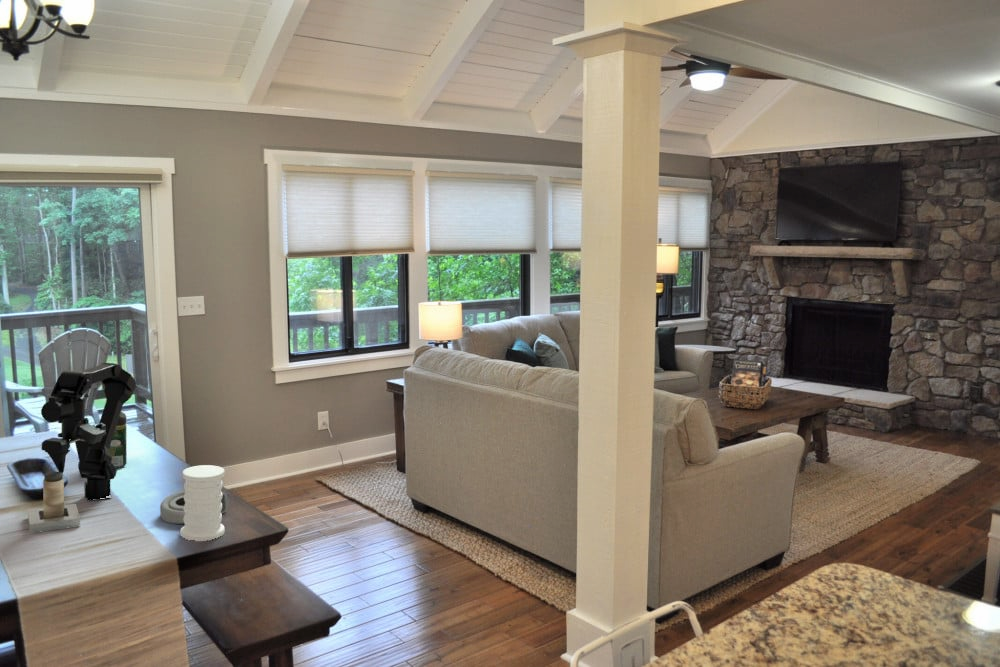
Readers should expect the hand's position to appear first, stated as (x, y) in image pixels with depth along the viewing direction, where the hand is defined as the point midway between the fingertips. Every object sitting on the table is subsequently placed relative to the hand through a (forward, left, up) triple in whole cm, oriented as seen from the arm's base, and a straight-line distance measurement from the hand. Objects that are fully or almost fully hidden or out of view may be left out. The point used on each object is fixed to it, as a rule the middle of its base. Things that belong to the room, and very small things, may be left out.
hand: (72, 468), depth 229 cm
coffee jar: (-16, -42, -13) cm, 47 cm away
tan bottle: (+5, +6, -13) cm, 15 cm away
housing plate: (+5, +6, -13) cm, 15 cm away
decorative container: (-30, +29, -13) cm, 44 cm away
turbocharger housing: (-30, +14, -14) cm, 35 cm away
